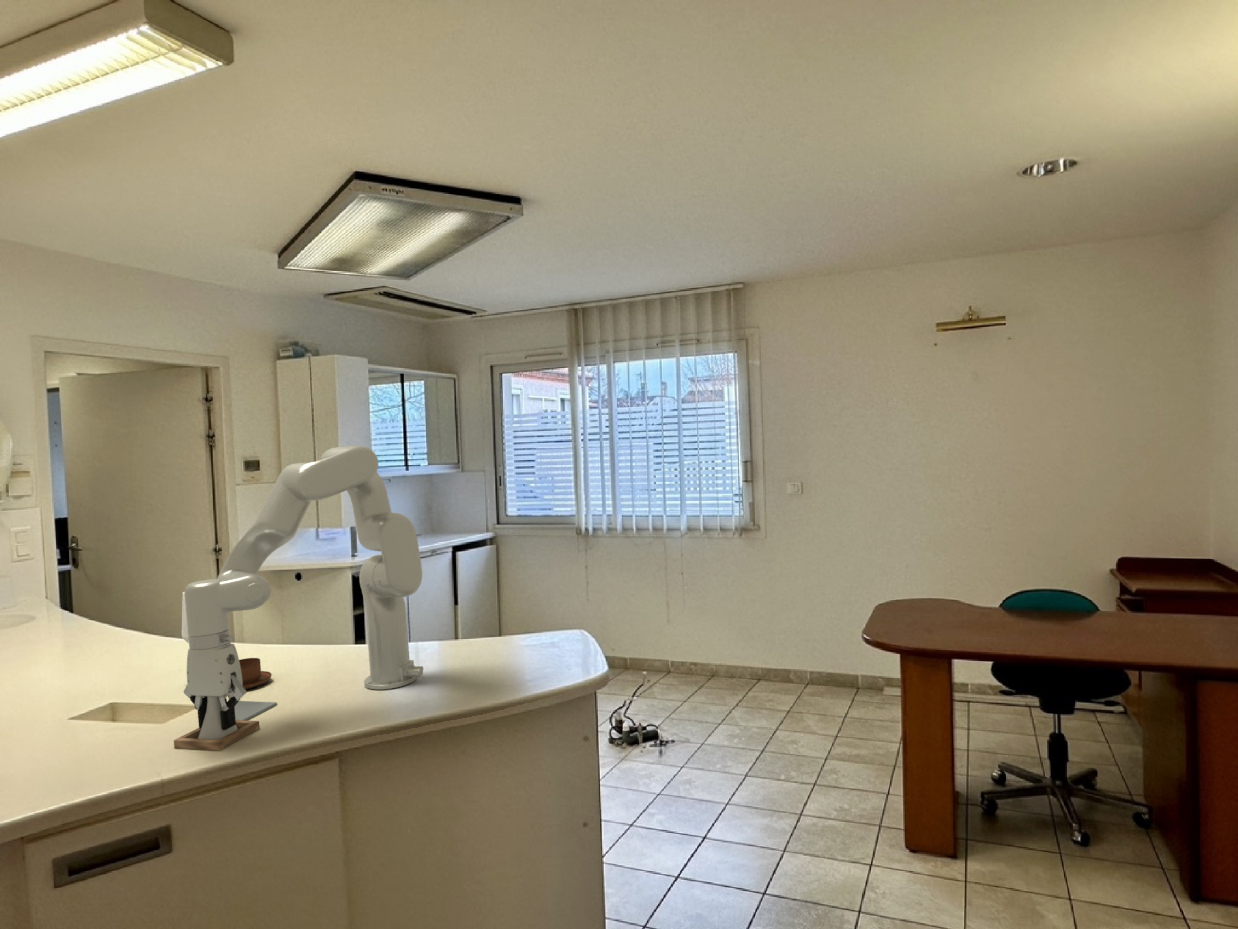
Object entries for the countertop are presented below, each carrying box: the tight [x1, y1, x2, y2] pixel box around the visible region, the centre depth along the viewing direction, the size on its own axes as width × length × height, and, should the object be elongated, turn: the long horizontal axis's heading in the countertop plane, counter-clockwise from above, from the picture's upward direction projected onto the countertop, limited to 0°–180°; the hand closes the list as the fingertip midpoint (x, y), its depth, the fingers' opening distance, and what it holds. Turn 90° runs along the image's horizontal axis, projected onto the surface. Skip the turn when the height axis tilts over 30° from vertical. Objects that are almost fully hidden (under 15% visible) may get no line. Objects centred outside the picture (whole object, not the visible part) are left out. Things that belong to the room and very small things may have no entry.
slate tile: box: [235, 700, 278, 721], centre depth 166 cm, size 11×11×1 cm
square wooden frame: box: [173, 720, 260, 752], centre depth 152 cm, size 11×11×2 cm
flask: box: [198, 696, 238, 740], centre depth 152 cm, size 7×7×10 cm
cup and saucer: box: [239, 657, 273, 690], centre depth 186 cm, size 12×12×6 cm
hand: (217, 726), depth 152 cm, fingers closed on flask, 4 cm apart
